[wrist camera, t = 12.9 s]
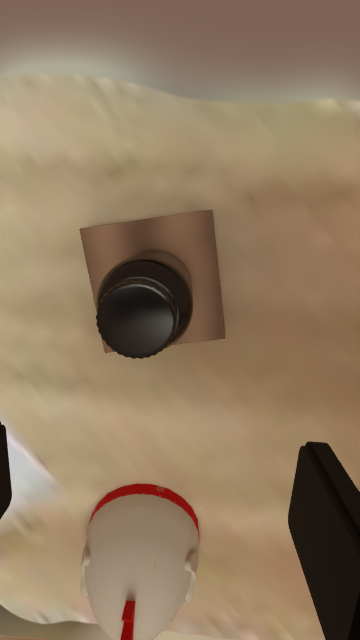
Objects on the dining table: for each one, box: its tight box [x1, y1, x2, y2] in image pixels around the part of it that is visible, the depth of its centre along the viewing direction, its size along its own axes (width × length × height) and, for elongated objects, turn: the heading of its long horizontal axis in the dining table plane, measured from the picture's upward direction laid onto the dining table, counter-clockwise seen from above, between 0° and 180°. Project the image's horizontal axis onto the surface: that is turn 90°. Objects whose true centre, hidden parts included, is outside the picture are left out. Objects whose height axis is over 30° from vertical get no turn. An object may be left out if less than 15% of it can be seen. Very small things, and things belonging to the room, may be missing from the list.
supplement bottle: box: [96, 250, 193, 359], centre depth 25 cm, size 7×7×12 cm
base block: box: [80, 210, 225, 353], centre depth 32 cm, size 12×12×3 cm
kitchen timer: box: [81, 484, 199, 640], centre depth 35 cm, size 14×14×15 cm
